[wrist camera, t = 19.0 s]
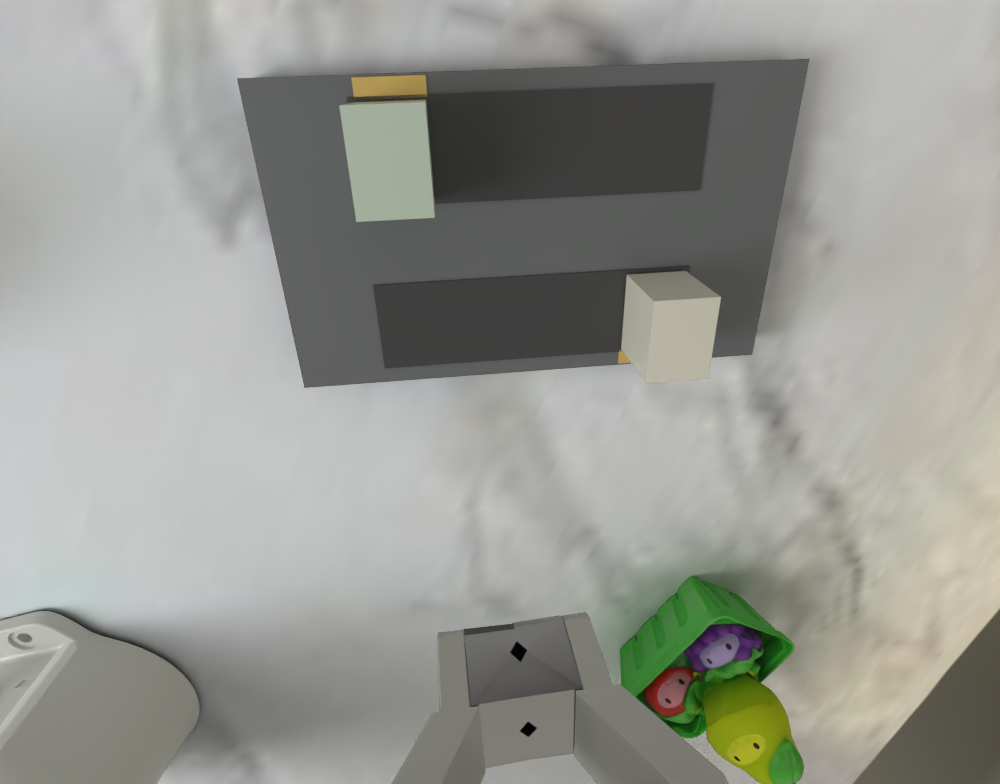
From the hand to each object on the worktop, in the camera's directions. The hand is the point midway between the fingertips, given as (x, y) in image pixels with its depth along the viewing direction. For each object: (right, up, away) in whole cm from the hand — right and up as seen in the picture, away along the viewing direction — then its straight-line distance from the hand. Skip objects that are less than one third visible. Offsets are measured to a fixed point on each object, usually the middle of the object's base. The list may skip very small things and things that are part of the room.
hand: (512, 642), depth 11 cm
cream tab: (+8, +9, +18) cm, 22 cm away
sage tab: (-5, +15, +13) cm, 21 cm away
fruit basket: (+14, -13, +33) cm, 39 cm away
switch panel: (+1, +13, +18) cm, 22 cm away
